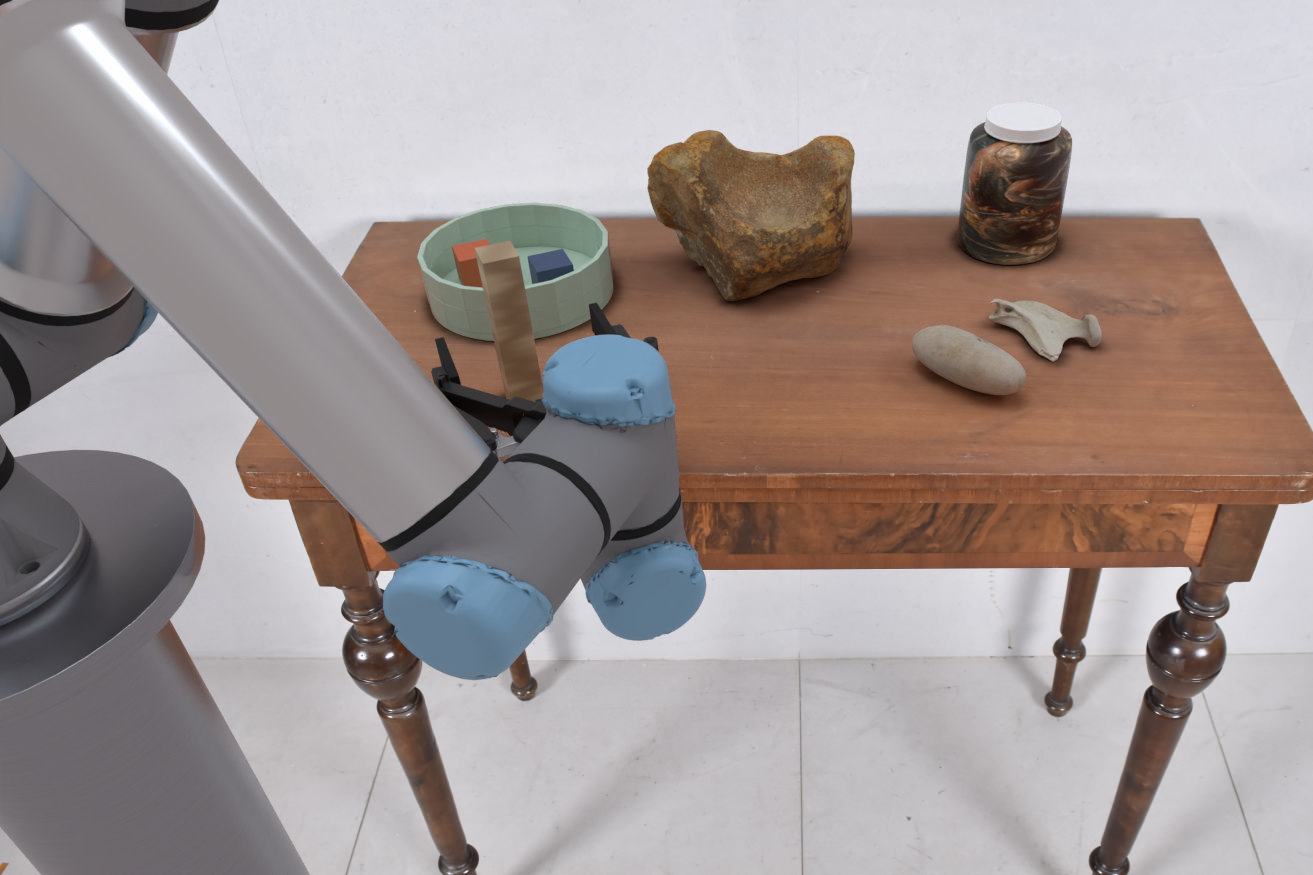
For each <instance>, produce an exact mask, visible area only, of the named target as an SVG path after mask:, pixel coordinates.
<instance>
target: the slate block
mask: <svg viewBox="0 0 1313 875" xmlns="http://www.w3.org/2000/svg"><path fill="white" fill-rule="evenodd" d="M528 263H529V269H530V274H531V280H532V284H536V283H541V282H545V281H550V280H553V279H555V278H558V277H560V276H563V275H565V274H568V273H570V272H573V271H574V267H573V264H572V262H571V261H570V259H569V258H568V256H567V254H566V253H565V251H564V250H563V249H559V250H554V251H550V252H545V253H540V254H536V255H531V256H528Z"/></svg>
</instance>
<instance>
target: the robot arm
mask: <svg viewBox="0 0 1313 875" xmlns="http://www.w3.org/2000/svg"><path fill="white" fill-rule="evenodd" d="M219 2H220V0H0V427H2V426H3V425H4V424H5V423H8V422H9V421H10V420H12V419H14V418H15V417H17V416H18V415H19V414H21V413H23V412H25V411H26V410H27V409H29V408H30V407H32V406H34V405H35V404H36V403H38V402H40V401H42V400H44V399H45V398H46V397H48V396H50V395H51V394H52V393H54V392H56V391H57V390H59V389H61V388H63V387H64V386H65V385H67V384H69V383H70V382H71V381H73V380H75V379H77V378H78V377H79V376H81V375H82V374H84V373H86V372H88V371H89V370H90V369H92V368H94V367H95V366H98V364H101V363H102V362H103V361H105V360H106V359H108V358H111V357H114V356H116V355H119V354H121V353H122V352H124V351H125V350H126V349H127V348H130V347H131V346H132V345H134V343H135V342H136V341H137V340H138V339H139V338H140V337H141V336H142V335H144V333H146V332H147V331H148V330H149V329H150V328H151V326H152V325H153V324H154V322H155V321H156V319H157V317H158V314H159V316H161V317H162V318H163V319H164V320H165V322H167V324H168V325H169V326H170V327H171V328H172V329H173V330H174V331H175V332H176V333H177V335H179V336H180V337H181V338H182V339H183V340H184V341H185V343H186V344H187V345H188V346H189V347H190V348H191V349H192V350H193V351H194V352H195V353H196V354H197V355H198V356H199V358H201V359H202V360H203V361H204V362H205V363H206V365H208V367H209V368H211V370H212V371H213V372H215V374H216V375H217V376H218V377H219V378H220V379H221V380H222V381H223V382H224V383H225V385H226V386H227V387H229V389H231V391H232V392H233V393H234V394H236V396H237V397H238V398H239V399H240V400H241V401H242V402H243V403H244V405H246V407H248V408H249V409H250V411H251V412H252V413H253V414H254V415H255V416H256V417H257V418H258V420H260V421H261V422H262V423H263V424H264V425H265V426H266V427H267V428H268V429H269V431H271V433H272V434H273V435H274V436H275V437H276V438H277V439H278V440H279V441H280V442H281V443H282V444H283V445H284V446H285V448H287V449H288V450H289V451H290V453H292V454H293V455H294V457H295V458H297V460H298V461H299V462H300V463H301V464H302V465H303V466H304V467H305V468H306V469H307V470H308V471H309V472H310V473H311V474H312V476H313V477H315V479H316V480H317V481H318V482H319V483H320V484H321V485H322V486H323V487H324V488H325V489H326V490H327V492H329V493H330V494H331V496H333V497H334V498H335V499H336V501H337V502H338V503H339V504H340V505H341V506H342V507H343V508H344V509H345V510H346V511H347V512H348V513H349V514H350V515H351V516H352V518H354V520H356V521H357V522H358V524H359V525H360V526H361V527H362V528H363V529H364V530H365V531H366V532H367V533H368V534H369V536H370V537H372V538H373V539H374V541H376V543H377V544H378V545H380V546H381V547H382V548H383V549H384V551H385V552H386V553H387V555H388V556H389V557H390V558H391V560H392V561H393V562H395V564H397V566H398V568H397V569H395V571H393V575H392V578H391V579H390V581H389V582H388V583H387V584H386V587H385V588H384V591H383V595H382V609H383V613H384V617H385V618H386V619H387V621H388V622H389V623H390V624H392V625H393V626H394V634H395V637H396V638H397V640H398V641H399V642H400V643H401V644H402V645H403V646H404V647H405V648H406V649H407V650H408V651H409V652H410V653H411V654H412V655H413V656H415V658H417V659H419V660H420V661H422V662H423V663H424V664H426V665H428V666H429V667H431V668H432V669H435V670H436V671H438V672H441V673H442V674H445V675H447V676H450V677H453V678H457V679H460V680H466V681H467V680H468V681H481V680H482V681H483V680H486V679H492V678H497V677H498V676H499V675H500V674H502V673H504V672H505V671H507V670H508V669H509V668H510V667H511V666H512V665H513V664H514V663H515V661H516V660H518V658H519V657H520V656H521V655H522V654H523V653H524V651H525V650H526V649H527V648H528V647H529V645H531V644H532V642H533V641H534V640H535V639H536V638H537V637H538V636H539V634H540V633H542V632H543V631H545V629H546V628H547V627H549V626H550V625H551V624H552V622H553V621H554V615H556V613H557V611H558V610H559V609H560V607H561V606H562V605H563V603H564V602H565V600H566V599H567V598H568V597H569V595H570V594H571V592H572V591H573V590H574V588H575V587H576V585H577V584H578V583H579V581H580V580H581V583H582V586H583V588H584V590H585V598H586V601H587V603H588V604H590V605H591V606H592V608H593V610H594V612H595V613H596V615H597V617H598V618H599V620H600V622H601V624H602V625H603V627H604V628H605V629H606V630H607V632H609V633H611V634H612V635H614V636H615V637H618V638H619V639H623V640H626V641H636V642H641V641H642V642H643V641H650V640H654V639H656V638H659V637H661V636H663V635H664V636H665V635H669V634H671V633H673V632H675V631H677V630H679V629H681V628H682V627H683V626H685V624H687V623H688V622H689V621H690V620H691V619H692V618H693V617H694V616H695V615H696V613H697V612H698V610H699V609H700V607H701V606H702V604H703V601H704V600H705V596H706V592H707V579H706V574H705V572H704V570H703V567H702V565H701V563H700V561H699V553H698V551H697V550H696V549H695V548H694V546H693V545H692V544H690V543H689V541H688V537H687V534H686V530H685V521H684V510H683V499H682V492H681V489H680V483H681V482H680V468H679V456H678V442H677V430H676V429H677V428H676V427H677V426H676V411H677V406H676V404H675V401H674V399H673V394H672V388H671V382H670V376H669V370H668V366H667V363H666V360H665V358H664V357H663V356H662V355H661V353H660V351H659V350H660V349H659V341H658V338H657V337H655V336H647V337H644V338H643V340H641V339H638V338H632V337H631V336H630V335H629V333H628V331H627V329H626V328H625V327H624V325H622V324H620V323H618V324H614V325H612V324H611V322H610V321H609V319H608V318H607V316H606V315H605V313H604V312H603V309H602V310H601V308H600V307H599V305H598V304H597V302H596V303H592V304H589V311H590V318H591V319H590V325H591V331H592V333H593V334H594V335H591V336H585V337H583V338H579V339H577V340H573V341H571V342H568V343H566V344H565V345H563V346H561V347H559V348H557V349H556V351H555V352H553V353H552V354H551V355H550V357H548V359H547V361H546V363H545V367H544V368H543V373H542V385H543V390H544V393H543V394H542V395H543V398H541V399H537V400H536V402H533V401H530V400H526V399H523V398H520V397H513V398H512V399H511V400H510V399H506V397H503V396H500V395H496V394H494V393H493V394H492V393H489V392H486V391H482V390H479V389H475V388H472V387H470V386H466V385H463V384H462V382H461V379H460V378H461V377H460V375H459V373H458V372H459V371H458V369H457V367H456V365H455V362H454V359H453V357H452V355H451V352H450V349H449V347H448V344H447V342H446V340H445V337H444V336H442V337H437V338H434V342H435V346H436V350H437V354H438V357H439V358H438V359H439V361H440V366H436V367H433V368H431V377H432V379H431V378H430V377H429V376H428V375H427V374H426V372H425V371H424V370H423V369H422V368H421V366H419V364H418V363H417V362H416V361H415V360H414V358H412V356H411V355H410V354H409V353H408V352H407V350H406V349H405V348H404V346H402V345H401V343H399V341H398V340H397V339H396V337H394V336H393V334H392V333H391V332H390V331H389V330H388V328H387V327H386V326H385V324H383V323H382V321H380V320H381V319H379V318H378V317H377V316H376V314H375V313H374V312H373V311H372V310H371V308H369V307H368V305H367V304H366V303H365V302H364V301H363V299H362V298H361V297H360V296H359V295H358V294H357V292H356V291H355V290H354V289H353V288H352V287H351V286H350V285H349V284H348V282H347V280H345V278H344V277H342V275H341V274H340V273H339V272H338V270H337V269H336V268H335V267H334V266H333V264H331V263H330V262H329V260H328V259H327V258H326V256H325V255H324V254H323V253H322V252H321V251H320V250H319V249H318V247H317V246H316V245H315V244H314V243H313V242H312V241H311V239H310V238H309V237H308V236H307V235H306V234H305V233H304V231H303V230H302V229H301V228H300V227H299V226H298V225H297V223H296V222H295V221H294V220H293V219H292V217H290V215H289V214H288V213H287V212H286V211H285V209H284V207H283V206H281V204H280V203H278V201H277V200H276V199H275V198H274V197H273V195H272V194H271V193H270V191H268V190H267V188H266V187H265V186H264V185H263V184H262V183H261V182H260V180H258V178H257V177H256V175H254V174H253V172H252V171H251V170H250V169H249V168H248V167H247V165H246V164H245V163H244V161H242V160H241V158H240V157H239V156H238V155H237V154H236V153H235V152H234V150H233V149H232V148H231V147H230V146H229V145H228V144H227V142H226V141H225V140H224V139H223V138H222V137H221V135H220V134H219V133H218V132H217V131H216V130H215V128H214V127H213V126H212V125H211V123H209V121H208V120H207V119H206V118H205V117H204V116H203V114H202V113H201V112H200V111H199V110H198V108H196V107H195V105H194V104H193V103H192V102H191V100H189V98H188V97H187V96H186V95H185V94H184V93H183V92H182V90H181V89H180V88H179V87H178V85H177V84H176V83H175V82H174V80H172V79H171V77H170V76H169V75H168V73H169V70H170V66H171V63H172V60H173V59H172V58H173V55H174V51H175V49H176V44H177V40H178V37H179V33H180V32H184V31H188V30H190V29H193V28H195V27H197V26H199V25H201V24H202V23H204V22H205V21H206V20H208V18H209V17H211V15H213V14H214V12H215V10H216V9H217V7H218V6H219ZM498 431H501V432H504V433H507V434H508V436H506V435H503V434H502V433H499V432H498ZM14 457H15V456H14V455H13V453H12V452H11V450H10V448H9V447H8V445H7V443H6V442H5V440H4V439H3V436H2V435H1V434H0V626H2V625H4V624H7V623H9V622H11V621H13V620H15V619H17V618H19V617H21V616H23V615H25V614H26V613H28V612H30V611H32V610H33V609H35V608H36V607H38V606H39V605H41V604H42V603H44V602H45V601H47V600H48V599H49V598H51V597H52V596H53V595H55V594H56V593H57V592H58V591H59V590H60V589H62V588H63V587H64V586H65V585H66V584H67V583H68V582H69V581H70V580H71V578H72V577H73V576H74V575H75V574H76V572H77V571H78V570H79V568H80V567H81V565H82V563H83V562H84V559H85V557H86V555H87V552H88V549H89V534H88V531H87V529H86V526H85V525H84V523H83V521H82V520H81V518H80V516H79V514H78V513H77V511H76V510H75V508H74V507H73V506H72V505H71V504H70V503H68V502H67V501H66V500H65V499H64V498H62V497H61V496H60V495H59V494H58V493H56V492H55V491H54V490H52V489H51V488H50V487H49V486H47V485H46V484H45V483H43V482H42V481H41V480H40V479H38V478H37V477H36V476H35V475H33V474H32V473H31V472H29V471H28V470H27V469H26V468H24V467H23V466H22V465H20V464H19V463H18V462H17V461H16V460H15V458H14ZM505 457H507V458H506V459H504V460H503V461H502V460H501V458H505Z"/></svg>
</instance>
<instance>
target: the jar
mask: <svg viewBox="0 0 1313 875" xmlns="http://www.w3.org/2000/svg"><path fill="white" fill-rule="evenodd" d="M1062 121H1063V115H1062V113H1061V112H1060V111H1059V110H1057V109H1056V108H1054V107H1052V106H1050V105H1047V104H1043V103H1039V102H1033V101H1032V102H1031V101H1011V102H1003V103H1001V104H997V105H995V106H993V107H991V108H989V109H988V110H987V112H986V115H985V121H984V122H981V123H980V124H978V125H977V126H975V127H974V128H973V129H972V130H971V133H970V134H969V139H968V142H967V144H968V145H967V149H966V155H965V162H964V169H963V170H964V171H963V180H962V188H961V197H960V204H959V215H958V227H957V239H956V242H957V244H958V246H959V249H961V250H962V251H963V252H964V254H967V255H968V256H970V257H972V258H974V259H977V260H979V261H982V262H986V263H990V264H994V265H995V264H996V265H1005V266H1006V265H1007V266H1016V265H1017V266H1018V265H1027V264H1031V263H1035V262H1039V261H1041V260H1043V259H1046V258H1047V257H1048V256H1050V255H1051V254H1052V253H1053V252H1054V251H1055V249H1056V247H1057V241H1058V236H1059V232H1060V226H1061V220H1062V214H1063V209H1064V204H1065V198H1066V192H1067V185H1068V179H1069V174H1070V166H1071V162H1072V161H1071V160H1072V153H1073V152H1072V151H1073V137H1072V135H1071V132H1069V130H1068V129H1066V128H1065V127H1063V125H1062Z"/></svg>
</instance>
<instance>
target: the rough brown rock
mask: <svg viewBox="0 0 1313 875" xmlns="http://www.w3.org/2000/svg"><path fill="white" fill-rule="evenodd" d="M855 155H856V154H855V149H854V146H853V144H852V143H851V142H850V140H849V139H847V138H846V137H843V136H841V135H819V136H816V137H814V138H813V139H812V140H810V141H809V142H808V143H807V144H805V145H803V146H801V147H798V148H797V149H795V150H792V151H790V152H787V153H784V154H778V153H773V152H772V153H771V152H764V151H751V150H746V149H741V148H738V147H737V146H735V145H734V144H733V143H732V142H730V140H729V139H728V138H727V137H726V136H725V134H723V132H721V131H719V130H713V129H705V130H701V131H700V130H699V131H697V132H694V133H692V134H691V135H690V136H689V137H687V138H686V139H685V140H684V141H683V142H682V141H680V142H679V141H678V142H675V143H673V144H672V143H671V144H669V145H666V146H664V147H663V148H662V149H660V150H659V151H658V152H657V153H655V154H654V155H653V157H652V160H651V162H650V164H649V165H648V167H647V176H648V179H647V193H648V196H649V201H650V204H651V208H652V210H653V212H654V215H655V217H656V219H657V220H658V222H660V223H662V225H663V226H664V227H667V228H668V229H671V230H673V231H674V232H675V233H676V235H677V238H678V241H679V244H680V245H681V246H682V248H683V250H684V252H685V254H686V256H687V257H688V259H690V260H692V261H693V262H695V263H697V265H698V266H700V267H703V268H704V269H705V270H706V272H707V276H708V277H710V278H711V279H712V280H713V282H714V284H715V286H716V288H717V289H718V292H719V293H720V294H721V295H722V297H723V298H724V300H725V301H727V302H737V301H742V300H746V299H749V298H752V297H755V296H759V295H761V294H763V293H764V292H766V291H769V290H772V289H774V288H775V287H778V286H779V285H781V284H785V283H788V282H791V281H795V280H801V279H812V278H813V279H814V278H819V277H822V276H826V275H829V274H831V273H833V272H835V271H836V270H837V269H838V267H839V265H840V263H841V262H842V260H843V259H844V258H845V257H846V256H847V253H848V250H849V247H850V245H851V243H852V239H853V231H854V230H853V229H854V227H853V207H852V205H853V204H852V203H853V193H852V177H853V170H854V166H855V165H854V164H855Z"/></svg>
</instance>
